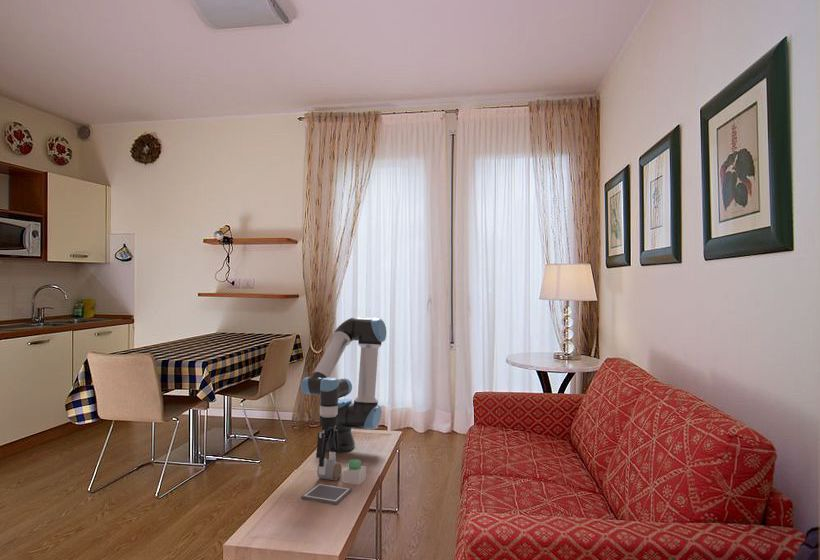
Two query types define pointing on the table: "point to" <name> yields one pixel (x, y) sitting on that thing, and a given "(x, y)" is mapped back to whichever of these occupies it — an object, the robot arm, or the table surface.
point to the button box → (354, 475)
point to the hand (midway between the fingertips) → (327, 470)
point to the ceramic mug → (331, 470)
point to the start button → (354, 463)
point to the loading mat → (327, 493)
